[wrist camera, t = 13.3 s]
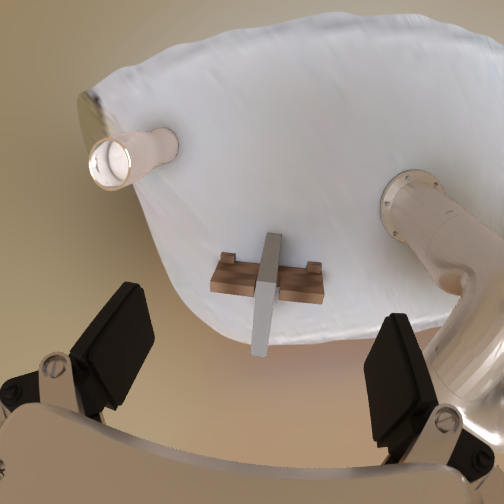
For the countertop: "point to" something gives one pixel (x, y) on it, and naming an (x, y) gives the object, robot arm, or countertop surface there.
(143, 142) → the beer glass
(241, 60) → the countertop surface
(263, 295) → the gray square panel
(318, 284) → the walnut slotted plate
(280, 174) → the countertop surface
